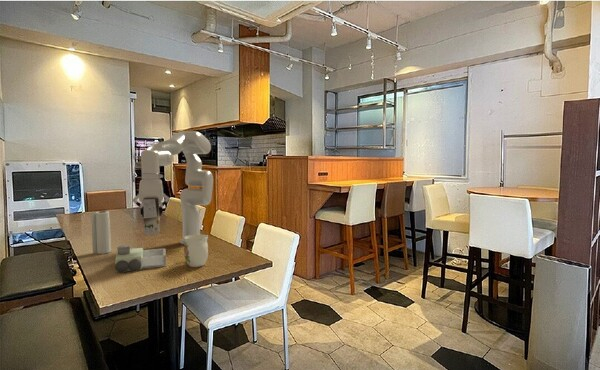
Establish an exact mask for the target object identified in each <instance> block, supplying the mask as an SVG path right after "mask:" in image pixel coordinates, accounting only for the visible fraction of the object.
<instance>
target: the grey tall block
mask: <svg viewBox="0 0 600 370" xmlns="http://www.w3.org/2000/svg"><path fill="white" fill-rule="evenodd" d="M90 219H91V220H90V221H91V239H92V254H96V253H97V254H98V255H104V254H109V253H111V252H112V249H111V248H112V244H111V243H112V242H111V241H112V240H111V220H110V219H111V218H110V211H108V210H107V211H105V210H103V211H94V212H90Z"/></svg>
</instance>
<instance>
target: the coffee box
mask: <svg viewBox="0 0 600 370" xmlns="http://www.w3.org/2000/svg"><path fill="white" fill-rule="evenodd" d="M159 207H160V205H159V199H158V198H144V199H143V209H144V217H143V234H144V235H152V234H153V235H154V234H155V235H157V234H159V233H160V229H161V225H160V224H161V220H160V218H161V216H159Z"/></svg>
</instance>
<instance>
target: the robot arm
mask: <svg viewBox="0 0 600 370" xmlns="http://www.w3.org/2000/svg"><path fill="white" fill-rule="evenodd" d="M211 150H212V143H211V142H210V140H209V139H208V138H207V137H206V136H205V135H203V134H202V133H201V132H199V131H197V130H182V131H179V132H177V133H176V134H174V135H173V136H172V137H170V138H169V139H167V140H163V141H160V142H157V143H154V144H151V145H150V146H148V147H146V148H145V149H144V150H142V151H141V154H140V160H141V161H140V162H141V163H140V164H141V165H140V167H141V180H140V181H139V184H138V185H139V187H138V194H137V195H136V196H135V197H133V198H132V202H133V203H134V204H135V205H136V206H138V207H139V208H140V209H139V210H140V215H141V216H142V217H143V218H144V209H143V199H144V198H158V199H159V216H160V217H161V216H162V214H163V208H164V206H165V205H166V204H167V203H168V202H169V201H170V197H169V196H168V195H166V193H164V185H163V181H162V179H161V178H164V175H163V174H160V173H161V172H160V171H161V170H160V167H165V166H170V165H171V164H172V163H173V160H174V157H173V156H175V155H178V154H180V153H183V155H184V157H185V159H186V160H185V161H186V169H185V179H184V182H185V185H186V186H189V187H190V188H188V187H187V188H185V189H182V190H181V191H180V193H179V198H180V203H181V212H182V214H181V216H182V218H181V219H182V239H180V241H179V244H180V245H184V246H185V239H184V237H186V236H189V235H196V234H201V228H200V227H201V224H200V223H201V219H200V217H201V215H200V210H199V208H198V206H208V205H210V204H211V201H212V197H213V187H214V176H213V175H214V174H213V173H212V172H211V171H210V170H207V169H206V170H205V169H203V167H202V165H203V161H202V160H201V158H200V156H199V155H207V154H209V153H210V152H211ZM202 169H203V170H202ZM191 187H195V188H191ZM196 187H201V188H196ZM138 200H139V201H138ZM162 201H163V202H162ZM206 235H207V236H208V237H209V235H208V234H206Z"/></svg>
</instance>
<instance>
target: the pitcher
mask: <svg viewBox="0 0 600 370" xmlns="http://www.w3.org/2000/svg"><path fill="white" fill-rule="evenodd" d="M207 235H208V234H201V233H200V234H196V235H189V236H186V237H184V239H185V245H184V246H183V256H184V258H185V262H186V263H187V265H188V267H190V268H199V267H203V266H204V265H205V264H206V262H207V260H208V257H209V243H208V239H209V235H208V236H207Z"/></svg>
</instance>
